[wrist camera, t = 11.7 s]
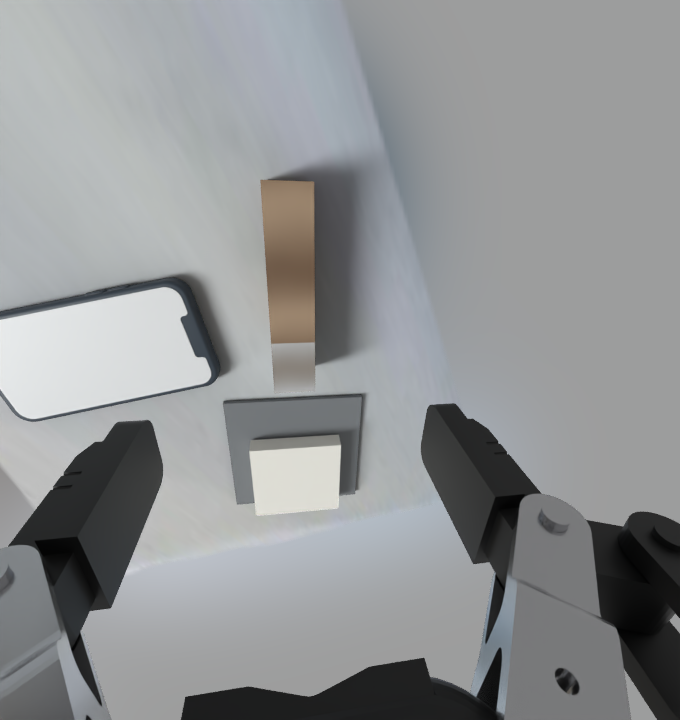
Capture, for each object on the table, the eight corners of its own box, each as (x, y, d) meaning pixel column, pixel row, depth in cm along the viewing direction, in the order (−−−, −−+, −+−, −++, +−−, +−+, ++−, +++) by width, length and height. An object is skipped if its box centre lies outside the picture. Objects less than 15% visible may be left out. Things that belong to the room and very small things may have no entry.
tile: (249, 451, 30) (256, 516, 34) (341, 445, 31) (338, 508, 35) (250, 438, 32) (257, 501, 35) (338, 433, 33) (336, 494, 36)
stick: (264, 180, 23) (260, 179, 19) (309, 182, 23) (314, 181, 20) (275, 368, 29) (274, 393, 26) (311, 366, 30) (315, 391, 26)
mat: (223, 401, 30) (223, 403, 30) (361, 394, 32) (361, 397, 31) (237, 501, 35) (237, 504, 35) (354, 491, 37) (354, 494, 37)
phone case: (35, 415, 29) (226, 375, 29) (21, 427, 27) (222, 385, 28) (-37, 315, 25) (186, 271, 25) (-57, 323, 23) (180, 276, 24)
